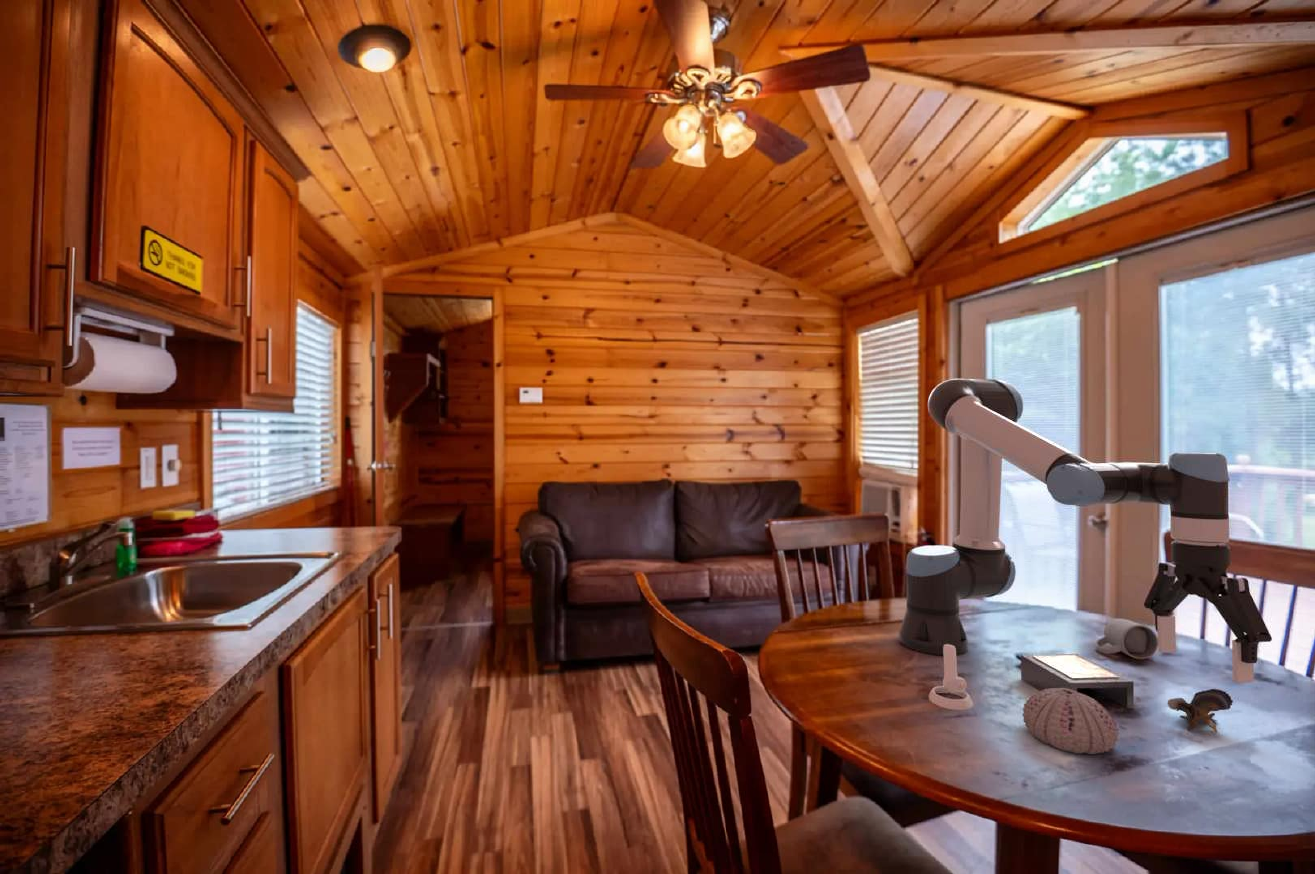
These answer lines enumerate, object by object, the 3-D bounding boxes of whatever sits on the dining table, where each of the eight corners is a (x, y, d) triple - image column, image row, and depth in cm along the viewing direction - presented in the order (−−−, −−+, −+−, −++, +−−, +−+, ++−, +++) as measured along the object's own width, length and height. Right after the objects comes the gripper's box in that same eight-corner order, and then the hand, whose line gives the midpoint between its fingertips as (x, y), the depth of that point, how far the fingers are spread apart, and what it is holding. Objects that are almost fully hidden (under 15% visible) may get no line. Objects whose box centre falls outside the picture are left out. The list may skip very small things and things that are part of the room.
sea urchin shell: (1140, 753, 94) (1140, 703, 94) (1076, 767, 90) (1075, 715, 90) (1062, 716, 107) (1061, 671, 107) (1003, 726, 103) (1002, 681, 103)
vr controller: (956, 658, 121) (974, 649, 115) (962, 720, 114) (982, 714, 109) (920, 650, 121) (936, 640, 116) (924, 712, 115) (941, 705, 109)
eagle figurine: (1233, 738, 96) (1247, 713, 101) (1199, 695, 99) (1214, 673, 104) (1184, 745, 102) (1199, 721, 107) (1153, 704, 105) (1169, 683, 110)
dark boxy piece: (1070, 709, 109) (1070, 681, 109) (1021, 678, 123) (1020, 653, 123) (1133, 708, 109) (1133, 679, 109) (1077, 677, 123) (1076, 652, 123)
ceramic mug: (1134, 647, 141) (1133, 614, 141) (1159, 659, 133) (1158, 625, 133) (1086, 646, 142) (1085, 614, 142) (1109, 659, 134) (1108, 625, 134)
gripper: (1302, 554, 89) (1306, 695, 89) (1156, 531, 114) (1159, 641, 114) (1254, 555, 89) (1258, 697, 89) (1119, 531, 114) (1121, 642, 114)
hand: (1202, 665), depth 101 cm, fingers open, 13 cm apart
